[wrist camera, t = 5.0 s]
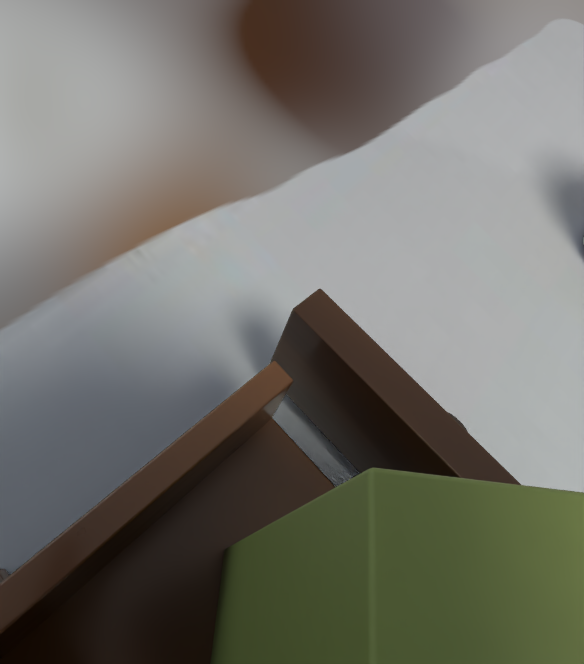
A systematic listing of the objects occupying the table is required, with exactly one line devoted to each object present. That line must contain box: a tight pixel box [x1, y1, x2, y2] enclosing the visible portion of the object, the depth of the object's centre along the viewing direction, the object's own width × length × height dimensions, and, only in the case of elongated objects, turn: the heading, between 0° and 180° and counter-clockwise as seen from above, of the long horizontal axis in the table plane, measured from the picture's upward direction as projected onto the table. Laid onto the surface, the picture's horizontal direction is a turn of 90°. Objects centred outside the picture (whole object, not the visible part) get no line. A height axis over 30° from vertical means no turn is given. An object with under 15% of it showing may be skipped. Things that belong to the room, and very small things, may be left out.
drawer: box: [0, 289, 521, 664], centre depth 12 cm, size 15×12×5 cm
